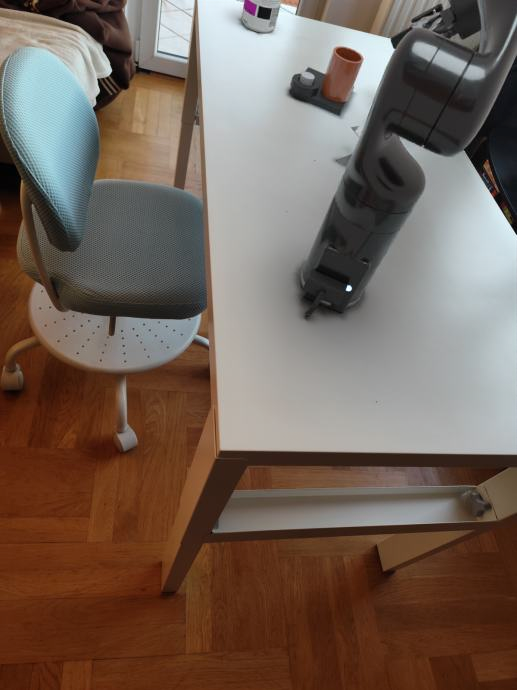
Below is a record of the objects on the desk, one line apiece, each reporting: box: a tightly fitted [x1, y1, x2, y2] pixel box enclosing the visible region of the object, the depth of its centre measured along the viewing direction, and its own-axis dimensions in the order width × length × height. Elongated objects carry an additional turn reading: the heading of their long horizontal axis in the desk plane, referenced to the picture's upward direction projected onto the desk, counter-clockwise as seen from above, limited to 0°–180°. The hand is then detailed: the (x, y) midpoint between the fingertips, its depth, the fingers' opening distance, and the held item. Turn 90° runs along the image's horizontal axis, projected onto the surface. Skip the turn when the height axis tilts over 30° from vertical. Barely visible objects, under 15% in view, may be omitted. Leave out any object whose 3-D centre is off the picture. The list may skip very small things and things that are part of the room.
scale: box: [289, 66, 355, 117], centre depth 102 cm, size 13×12×3 cm
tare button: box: [299, 71, 315, 86], centre depth 98 cm, size 3×3×2 cm
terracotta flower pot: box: [321, 45, 364, 102], centre depth 98 cm, size 6×6×8 cm
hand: (393, 53), depth 94 cm, fingers open, 8 cm apart
